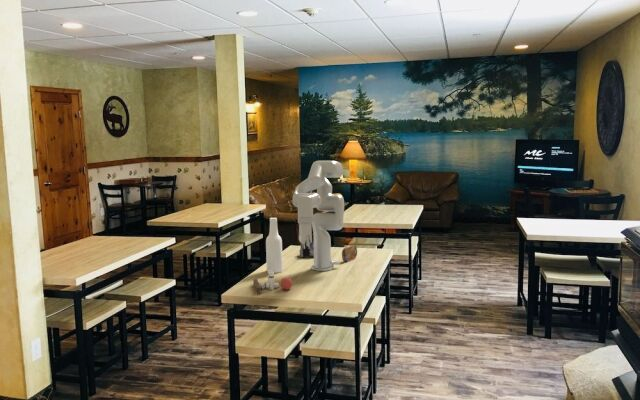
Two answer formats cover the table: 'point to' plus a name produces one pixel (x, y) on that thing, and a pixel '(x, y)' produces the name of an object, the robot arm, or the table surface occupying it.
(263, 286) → the front pin
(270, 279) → the back pin left
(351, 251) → the brown rock slab
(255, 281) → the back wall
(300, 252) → the geode
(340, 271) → the table surface
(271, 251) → the alcohol
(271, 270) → the back pin right
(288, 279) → the ball
